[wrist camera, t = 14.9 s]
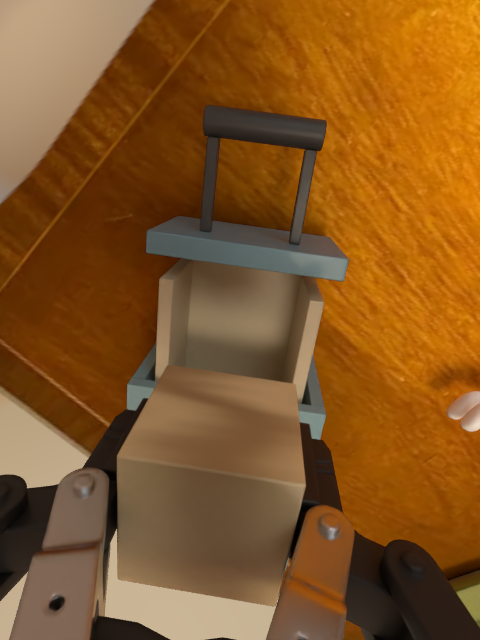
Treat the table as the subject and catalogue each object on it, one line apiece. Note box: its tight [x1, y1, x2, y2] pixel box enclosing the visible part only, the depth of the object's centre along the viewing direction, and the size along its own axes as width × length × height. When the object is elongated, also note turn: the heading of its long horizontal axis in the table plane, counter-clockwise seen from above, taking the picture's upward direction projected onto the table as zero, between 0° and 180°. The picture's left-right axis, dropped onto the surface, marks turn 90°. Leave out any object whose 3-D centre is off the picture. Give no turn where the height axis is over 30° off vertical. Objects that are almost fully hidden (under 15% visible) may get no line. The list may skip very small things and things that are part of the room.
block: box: [117, 365, 306, 606], centre depth 12 cm, size 5×5×5 cm
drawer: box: [146, 105, 349, 404], centre depth 23 cm, size 19×10×7 cm, turn 173°
